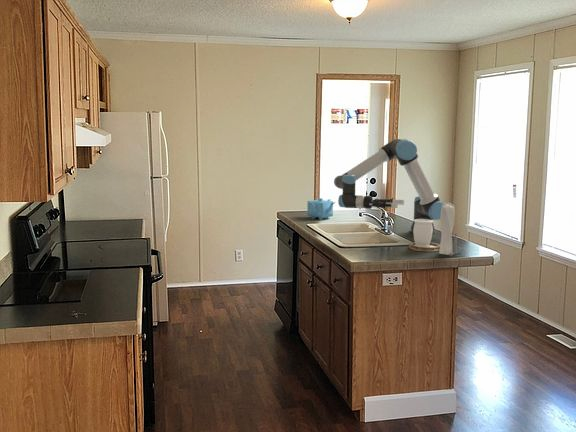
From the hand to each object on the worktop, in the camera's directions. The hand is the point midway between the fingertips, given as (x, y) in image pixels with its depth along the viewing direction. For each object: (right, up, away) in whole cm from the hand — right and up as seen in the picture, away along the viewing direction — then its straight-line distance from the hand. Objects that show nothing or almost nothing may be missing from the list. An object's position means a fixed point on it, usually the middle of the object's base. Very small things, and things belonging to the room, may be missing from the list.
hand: (400, 203), depth 344 cm
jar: (+10, -24, -9) cm, 28 cm away
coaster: (+12, -25, -8) cm, 29 cm away
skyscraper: (+21, -27, -20) cm, 40 cm away
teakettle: (-40, -9, +93) cm, 102 cm away
